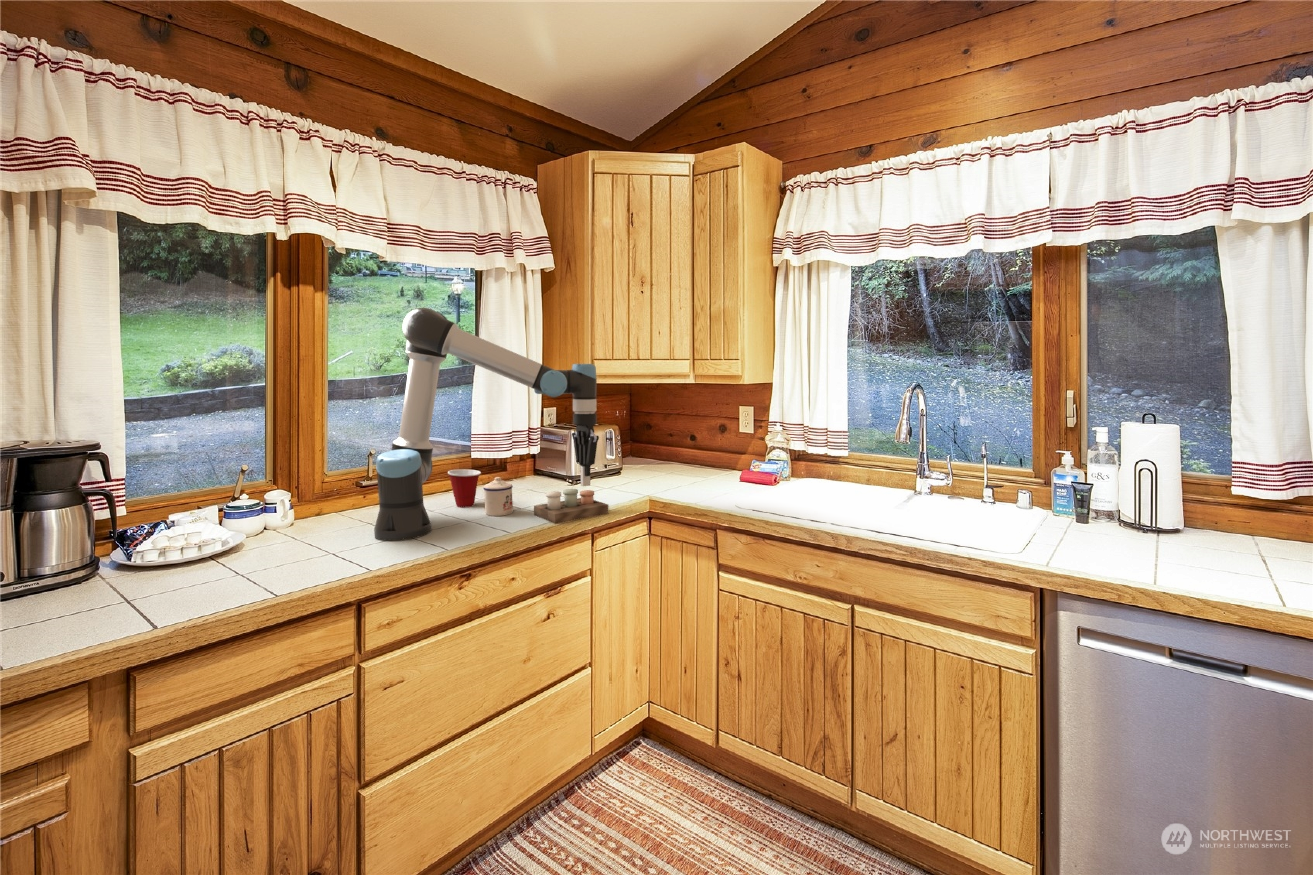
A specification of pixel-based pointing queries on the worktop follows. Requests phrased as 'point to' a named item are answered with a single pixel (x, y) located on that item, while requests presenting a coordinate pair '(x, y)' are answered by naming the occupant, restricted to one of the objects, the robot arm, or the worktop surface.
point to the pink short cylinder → (587, 497)
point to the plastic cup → (464, 486)
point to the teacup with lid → (498, 498)
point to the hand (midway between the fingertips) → (585, 485)
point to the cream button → (553, 500)
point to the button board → (571, 511)
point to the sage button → (570, 497)
